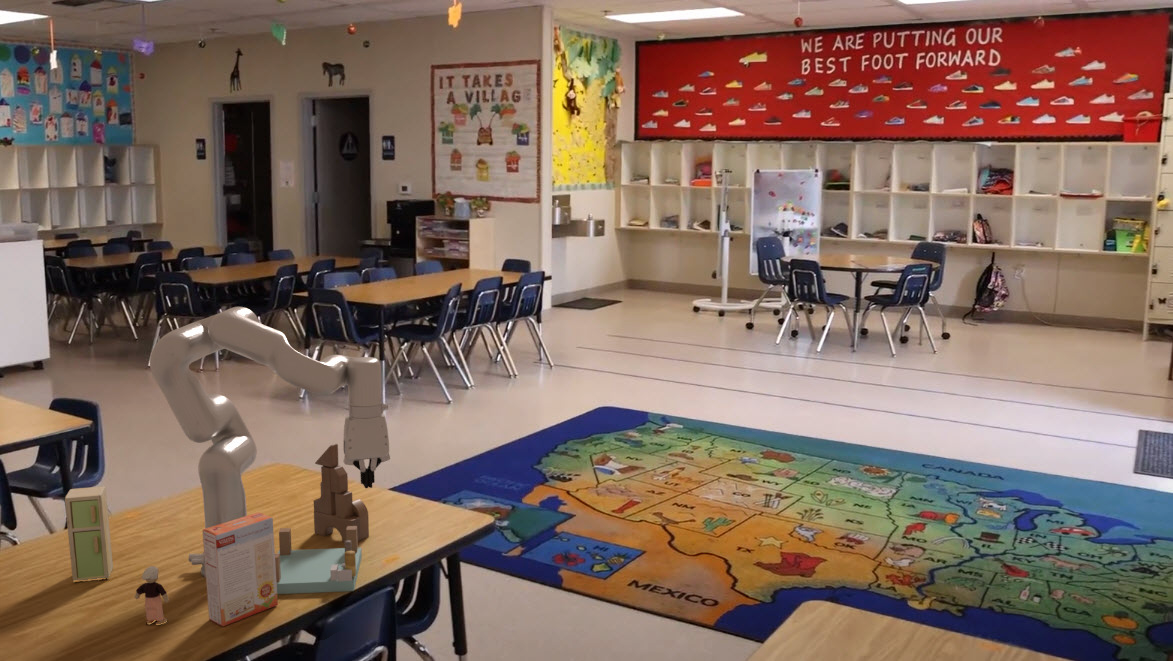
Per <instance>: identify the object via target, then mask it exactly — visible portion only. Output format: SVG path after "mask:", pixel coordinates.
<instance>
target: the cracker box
mask: <svg viewBox="0 0 1173 661" xmlns="http://www.w3.org/2000/svg"><path fill="white" fill-rule="evenodd" d="M274 535H275V534H274V518H273V517H272V516H269V515H267V514H264V513H261V512H259V511H257V512H255V513H251V514H249V515H248V514H247V516H245V517H241V518H238V519H235V520H232V521H229V522H225V523H222V524H219V525H216V526H212V527H209V528H206V529H205V528H203V529H202V542H203V543H202V544H203V552H204V558H205V571H206V577H205V581H206V593H207V596H206V597H207V608H208V609H207V610H208V611H207V612H208V619H209V620H210V621H212V622H214V623H215V624H217V625H219V626H221V627H225V626H228V625H231V624H233V623H235V622H238V621H240V620H243V619H245V618H248V617H251V616H253V615H256V614H258V613H261V612H263V611H267V610H268V609H272V608H274V607H276V606H278V604H279V603H278V594H277V582H276V565H275V554H276V553H275V551H276V550H275V536H274Z"/></svg>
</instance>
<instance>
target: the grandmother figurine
mask: <svg viewBox="0 0 1173 661" xmlns="http://www.w3.org/2000/svg"><path fill="white" fill-rule="evenodd" d="M141 579H142V580H144V581H145V582H144V583H142V584H141V585H139V586H138V588H137V589H136V591H135V595H134V599H136V600H139V599H140V597H141V595H143V594H144V610H145V617H146V620H148V621H146V622H147V623H152V622H153V621H154V620H156V621H157V622H155V624H161V623H164V622H166V621H167V620H168V619H167V618H166V617H164V610H163V602H164V603H169V602H170V599H169V596H168V592H167V591H166V589H165V588H164V586H163V585H162V584H161V583H158V582H157V581H158V580H159V568H158V567H157V566H153V565H150V566H148V567H147V568H146V569H145V570H144V571H143V573H142V575H141ZM162 599H163V601H162Z"/></svg>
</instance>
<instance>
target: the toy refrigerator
mask: <svg viewBox="0 0 1173 661" xmlns="http://www.w3.org/2000/svg"><path fill="white" fill-rule="evenodd" d="M107 496H108V495H107V487H106V486H92V487H91V486H90V487H79V488H78V487H77V488H71V489H69V491H68V492H67V494H66V495H65V497H64V502H65V503H64V504H65V514H66V525H67V536H68V544H69V546H68V547H69V556H70V567H71V575H72V582H73V581H74V580H88V579H97V578H109V576H110V577H111V575H110V573H111V571H112V572H113V570H112V569H114V564H113V555H112V554H113V553H112V541H111V533H110V532H111V531H110V521H109V509H108V499H107V498H108V497H107ZM111 574H112V573H111ZM109 579H110V578H109Z"/></svg>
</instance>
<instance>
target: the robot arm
mask: <svg viewBox="0 0 1173 661" xmlns="http://www.w3.org/2000/svg"><path fill="white" fill-rule="evenodd" d="M222 350H227V351H229V352H232V353H234V354H237V355H240V356H242V357H245V358H247V359H250V360H252V361H254V362H256V363H259V364H261V365H263V366H265V367H267V368H269V369H270V370H271V372H273V374H275V375H277V376H278V377H279V378H281V379H282V380H283V381H285V382H286V383H288V384H290V385H291V386H292V385H293V387H294V386H295V387H297V388H299V389H302V390H304V391H306V392H310V393H311V394H315V395H319V396H328V395H332V394H333V393H335V392H336V391H337V390H339V389H340V388H342V387H344V386H347V390H348V391H347V394H348V395H347V396H348V415H346V416H345V418H344V419H345V420H344V423H343V424H344V425H343V441H342V442H343V444H342V446H343V454H344V457H343V462H342V463H344V465H347V466H354V467H355V468H357V469H358V470H359V473H360V476H359V477H360V484H361V485H363V487H364V488H365V489H368V488H371V489H372V488H373V484H374V483H375V481H376V480H375V471H376V470H377V468H378V467H379V466H380V465H381V463H384V462H385V463H386V462H388V461H390V459H391V456H390V440H389V431H388V430H389V429H388V422H387V419H386V416H385V413H384V411H387V410H389V404H388V403H383V402H382V401H383V398H382V368H381V367H382V366H381V362H380V361H379V359H377V358H376V357H372V356H371V357H370V356H361V357H359V356H358V357H353V356H347V355H343V354H342V355H341V354H330V355H328V356H326V357H324V358H323V359H321V360H320V361H319V360H316V359H314V358H311V357H309V356H308V355H304V354H303V353H301V352H298V350H295V349H294V348H293V347H292V346H291V344H290V343H289V341H288V338H287V337H286V335H285V333H283V332H282V331H280V330H278V329H275V328H272V327H270V326H267V325H265V324H262V323H260V322H259V319H258V316H257V315H256V314H255V312H253V311H252V310H251V309H249V308H247V307H245V306H244V307H243V306H234V307H231V308H228V309H225V310H223V311H221V312H219V313H216V314H213V315H211V316H208V317H206V318H203V319H200V320H196V321H194V322H191V323H189V324H186V325H184V326H182V327H179V328H175V329H173V330H171V331H169V332H167V333H166V334H165V335H163V336H162V337H161V338H160V339H158V341H157V342H156V343H155V345H154V346H153V348H152V351H151V352H150V356H149V367H150V368H149V369H150V372H151V374H152V377H153V379H154V381H155V382H156V384H157V386H158V387H159V389H160V391H161V393H162V394H163V395H164V397H165V399H166V401H167V403H168V405H169V407H170V409H171V411H172V414H174V416H175V418H176V421H177V422H178V423H179V426H180V428H181V429H182V431H183V433H184V435H185V436H186V437H187V439H189V440H190V441H192V442H194V443H198V444H203V443H206V442H209V441H211V443H212V445H211V446H209V447H208V448H207V449H206V450H205V451H204V452H203V453H202V455H201V456H200V459H199V460H198V466H197V467H198V470H197V471H198V477H199V480H200V485H201V490H202V499H203V511H204V512H203V514H204V529H206V528H209V527H212V526H216V525H219V524H222V523H225V522H229V521H232V520H235V519H238V518H241V517H245V516H248V512H247V499H246V497H247V496H246V490H245V487H244V483H243V479H242V474H244V472H245V471H246V470H248V469H249V468H250V467H251V466H252V465H253V463H254V462H255V461H256V458H257V453H258V452H257V450H258V449H257V446H256V443H255V440H254V437H253V436H252V434H251V432H250V431H249V428H248V427H247V425H246V423H245V421H244V420H243V418H242V416H241V414H240V412H239V410H238V408H237V407H236V405H235V404H234V403H233V402H232V401H231V399H229V398H228V397H226V396H224V395H222V394H220V393H211V394H208V393H207V391H206V390H205V388H204V386H203V384H202V382H201V381H200V378H199V377H198V376H197V375H196V374H195V373H194V371H192V370H191V369H190V365H191V364H192V363H194V362H196V361H199V360H200V359H202V358H204V357H206V356H209V355H211V354H214V353H217V352H219V351H222ZM365 460H369V461H368V466H367V467H366V464H365ZM188 563H191V565H192V566H194V565H195V566H197V565H201V568H200V574H201V576H202V577H204V578H206V571H205V558H204V551H203V553H189V555H188Z"/></svg>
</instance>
